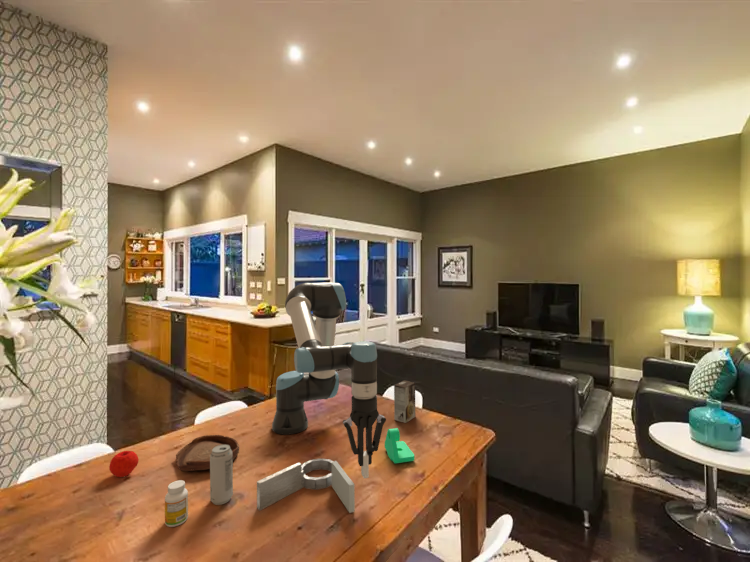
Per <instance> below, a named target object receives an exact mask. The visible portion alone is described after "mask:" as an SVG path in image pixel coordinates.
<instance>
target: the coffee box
mask: <svg viewBox="0 0 750 562" xmlns="http://www.w3.org/2000/svg"><path fill="white" fill-rule="evenodd" d="M393 389H394V390H393V392H394V393H393V394H394V395H393V397H394V398H393V400H394V402H393V405H394V409H393V411H394V412H393V413H394V416H393V417H394V421H397V422H400V423H404V424H406V423H408V422H409V421H411V420H412V419H414V418H415V417H416V415H417V414H416V382H412V381H409V380H402V381H400V382H398V383H396V384H394V385H393Z"/></svg>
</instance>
